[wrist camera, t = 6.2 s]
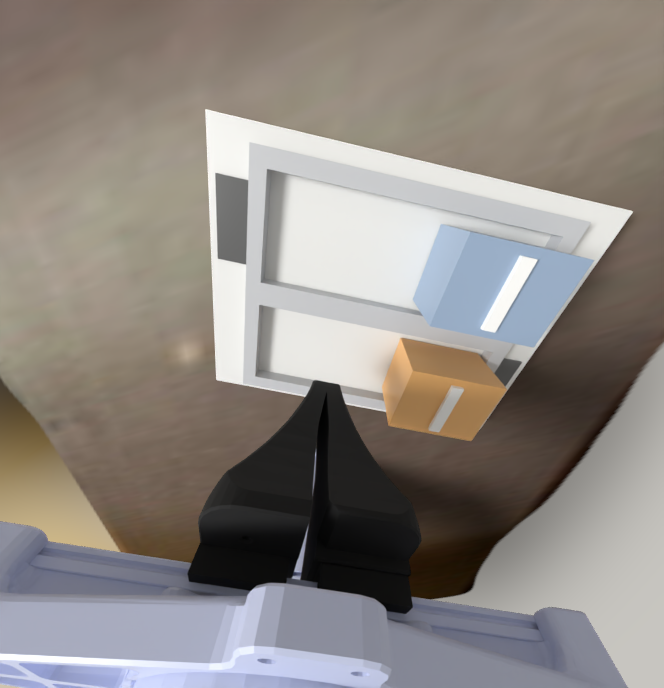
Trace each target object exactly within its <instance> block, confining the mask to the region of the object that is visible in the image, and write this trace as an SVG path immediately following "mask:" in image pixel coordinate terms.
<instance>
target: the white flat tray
mask: <svg viewBox="0 0 664 688" xmlns="http://www.w3.org/2000/svg"><path fill="white" fill-rule="evenodd" d="M205 110H206V135H207V160H208V185H209V210H210V235H211V260H212V285H213V310H214V334H215V359H216V380H219V381H225V382H230V383H235V384H241V385H246V386H251V387H257V388H262V389H267V390H273V391H278V392H283V393H289V394H294V395H299V396H305V397H306V395H307V393H308V391H309V389H310V387H311V385H312V382H313V381H314V380H319V381H324V382H329V383H335V384H339V385H340V387H341V391H342V395H343V398H344V401H345V404H347V405H353V406H358V407H363V408H369V409H374V410H379V411H385V412H386V408H385V402H384V397H383V391H382V385H383V383H384V380H385V377H386V375H387V372H388V369H389V367H390V364H391V361H392V359H393V356H394V354H395V351H396V348H397V346H398V343H399V340H400V338H404V339H409V340H414V341H419V342H424V343H429V344H434V345H439V346H444V347H449V348H454V349H459V350H463V351H468V352H473V353H478V355H479V356H480V357H481V358H482V359H483V361H484V362H485V363H486V364H487V365H488V367H489V368H490V369H491V370H492V371H493V373H494V374H495V375H496V376H497V377H498V379H499V380H500V381H501V382H502V383H503V385H504V386H505V387H506V388H507V390H508V389H509V387H510V386H511V385H512V383H513V382H514V380H515V379H516V377H517V376H518V375H519V373H520V372H521V370H522V369H523V367H524V366H525V365H526V363H527V362H528V360H529V359H530V358H531V356H532V355H533V353H534V352H535V350H536V349H537V348H538V346H539V345H540V343H541V342H542V340H543V339H544V338H545V336H546V335H547V333H548V332H549V331H550V329H551V328H552V326H553V325H554V323H555V322H556V321H557V319H558V318H559V316H560V315H561V314H562V312H563V311H564V309H565V308H566V306H567V305H568V304H569V302H570V301H571V299H572V298H573V296H574V295H575V294H576V292H577V291H578V289H579V288H580V287H581V285H582V284H583V282H584V281H585V279H586V278H587V277H588V275H589V274H590V272H591V271H592V269H593V268H594V267H595V265H596V264H597V262H598V261H599V260H600V258H601V257H602V255H603V254H604V252H605V251H606V250H607V248H608V247H609V245H610V244H611V242H612V241H613V240H614V238H615V237H616V235H617V234H618V233H619V231H620V230H621V228H622V227H623V225H624V224H625V223H626V221H627V220H628V218H629V217H630V215H631V214H632V213H633V211H630V210H625V209H621V208H617V207H613V206H609V205H604V204H600V203H596V202H592V201H588V200H583V199H579V198H575V197H571V196H567V195H563V194H558V193H554V192H550V191H546V190H542V189H537V188H533V187H529V186H525V185H521V184H516V183H512V182H508V181H504V180H500V179H496V178H491V177H487V176H483V175H479V174H475V173H470V172H466V171H462V170H458V169H454V168H449V167H445V166H441V165H437V164H433V163H429V162H424V161H420V160H416V159H412V158H408V157H403V156H399V155H395V154H391V153H387V152H382V151H378V150H374V149H370V148H366V147H362V146H357V145H353V144H349V143H345V142H341V141H336V140H332V139H328V138H324V137H320V136H315V135H311V134H307V133H303V132H299V131H295V130H290V129H286V128H282V127H278V126H274V125H269V124H265V123H261V122H257V121H253V120H248V119H244V118H240V117H236V116H232V115H227V114H223V113H219V112H215V111H211V110H207V109H205ZM441 224H443V225H448V226H452V227H457V228H461V229H465V230H470V231H474V232H479V233H483V234H487V235H492V236H496V237H501V238H505V239H509V240H514V241H518V242H523V243H527V244H531V245H536V246H540V247H544V248H548V249H552V250H556V251H560V252H564V253H568V254H572V255H576V256H580V257H584V258H588V259H592V260H594V262H593V263H592V265H591V266H590V268H589V269H588V270H587V272H586V273H585V275H584V276H583V278H582V279H581V281H580V282H579V283H578V285H577V286H576V288H575V289H574V291H573V292H572V293H571V295H570V296H569V298H568V299H567V301H566V302H565V304H564V305H563V306H562V308H561V309H560V311H559V312H558V314H557V315H556V316H555V318H554V319H553V321H552V322H551V324H550V325H549V327H548V328H547V329H546V331H545V332H544V334H543V335H542V337H541V338H540V339H539V341H538V342H537V344H536V345H535V347H534V348H533V347H528V346H523V345H518V344H513V343H508V342H504V341H499V340H494V339H489V338H484V337H479V336H474V335H470V334H465V333H460V332H455V331H450V330H445V329H441V328H436V327H431V326H429V325H428V323H427V321H426V320H425V318H424V317H423V315H422V314H421V312H420V310H419V309H418V307H417V306H416V304H415V303H414V301H413V297H414V295H415V292H416V289H417V287H418V284H419V281H420V279H421V276H422V273H423V271H424V268H425V265H426V263H427V260H428V257H429V255H430V252H431V249H432V247H433V244H434V241H435V239H436V236H437V233H438V231H439V228H440V225H441ZM506 392H507V391H506ZM506 392H505V393H506ZM503 396H504V395H503ZM503 396H502V397H503ZM501 399H502V398H501ZM501 399H500V400H501ZM499 402H500V401H499ZM499 402H498V403H499ZM496 406H497V405H496ZM496 406H495V407H496ZM494 409H495V408H494ZM494 409H493V410H494ZM492 412H493V411H492ZM492 412H491V413H492ZM489 416H490V415H489ZM489 416H488V417H489ZM487 419H488V418H487ZM487 419H486V420H487ZM484 423H485V422H484ZM482 426H483V425H482ZM482 426H481V427H482ZM480 429H481V428H480Z"/></svg>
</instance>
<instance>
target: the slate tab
mask: <svg viewBox="0 0 664 688" xmlns="http://www.w3.org/2000/svg"><path fill="white" fill-rule="evenodd" d="M593 262H594V260H592V259H588V258H584V257H580V256H576V255H572V254H568V253H564V252H560V251H556V250H552V249H548V248H544V247H540V246H536V245H531V244H527V243H523V242H518V241H514V240H509V239H505V238H501V237H496V236H492V235H487V234H483V233H479V232H474V231H470V230H465V229H461V228H457V227H452V226H448V225H443V224H441V225H440V228H439V231H438V233H437V236H436V239H435V241H434V244H433V247H432V249H431V252H430V255H429V257H428V260H427V263H426V265H425V268H424V271H423V273H422V276H421V279H420V281H419V284H418V287H417V289H416V292H415V295H414V297H413V301H414V303H415V304H416V306H417V307H418V309H419V310H420V312H421V314H422V315H423V317H424V318H425V320H426V321H427V323H428V325H429V326H431V327H436V328H441V329H445V330H450V331H455V332H460V333H465V334H470V335H474V336H479V337H484V338H489V339H494V340H499V341H504V342H508V343H513V344H518V345H523V346H528V347H533V348H534V347H535V345H536V344H537V342H538V341H539V339H540V338H541V337H542V335H543V334H544V332H545V331H546V329H547V328H548V327H549V325H550V324H551V322H552V321H553V319H554V318H555V316H556V315H557V314H558V312H559V311H560V309H561V308H562V306H563V305H564V304H565V302H566V301H567V299H568V298H569V296H570V295H571V293H572V292H573V291H574V289H575V288H576V286H577V285H578V283H579V282H580V281H581V279H582V278H583V276H584V275H585V273H586V272H587V270H588V269H589V268H590V266H591V265H592V263H593Z"/></svg>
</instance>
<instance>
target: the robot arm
mask: <svg viewBox="0 0 664 688" xmlns="http://www.w3.org/2000/svg"><path fill="white" fill-rule="evenodd" d="M316 443H317V447H316ZM198 525H199V533H200V542H201V543H200V545H199V547H198V549H197V552H196V554H195V556H194V559H193V561H192V563H187V562H181V561H174V560H167V559H161V558H154V557H148V556H141V555H135V554H128V553H122V552H115V551H109V550H102V549H95V548H89V547H83V546H76V545H70V544H63V543H56V542H50V541H48V538H47V536H46V534H45V533H44V532H43V531H42V530H40V529H38V528H36V527H32V526H28V525H21V524H15V523H8V522H2V521H0V684H3V685H9V686H15V687H21V688H628V687H627V685H626V684H625V682H624V680H623V678H622V677H621V675H620V673H619V671H618V670H617V668H616V667H615V664H614V663H613V661H612V659H611V658H610V656H609V654H608V652H607V651H606V649H605V648H604V645H603V644H602V642H601V640H600V639H599V637H598V635H597V633H596V632H595V630H594V628H593V626H592V625H591V623H590V621H589V619H588V618H587V616H586V614H585V613H583V612H581V611H574V610H568V609H562V608H554V607H548V608H543V609H541V610H539V611H537V612H536V613H535V614H534V616H533V615H527V614H520V613H514V612H507V611H500V610H494V609H487V608H481V607H474V606H468V605H461V604H455V603H448V602H442V601H435V600H429V599H422V598H416V597H411V591H410V585H409V579H408V576H410V574H411V570H410V564H409V558H410V557H411V556H412V554H413V553H414V552H415V551H416V549H417V548H418V546H419V545H420V542H421V534H420V529H419V525H418V521H417V518H416V515H415V512H414V509H413V506H412V504H411V502H410V501H409V500H408V499H407V498H406V497H405V496H404V495H403V494H402V493H401V492H400V491H399V490H398V489H397V487H396V486H395V485H394V484H393V483H392V482H391V481H390V479H389V478H388V477H387V476H386V475H385V473H384V472H383V471H382V469H381V468H380V467H379V465H378V464H377V462H376V461H375V460H374V458H373V457H372V455H371V454H370V452H369V451H368V449H367V448H366V446H365V444H364V443H363V441H362V439H361V437H360V435H359V434H358V432H357V430H356V428H355V426H354V423H353V421H352V419H351V417H350V414H349V412H348V409H347V407H346V404H345V401H344V398H343V395H342V391H341V387H340V385H339V384H335V383H329V382H324V381H319V380H314V381H313V382H312V385H311V387H310V389H309V391H308V393H307V395H306V397H305V398H304V400H303V401H302V403H301V404H300V406H299V407H298V408H297V410H296V411H295V412H294V413H293V415H292V416H291V417H290V418H289V420H288V421H287V422H286V423H285V424H284V425H283V426H282V427H281V428H280V429H279V430H278V431H277V432H276V433H275V434H274V435H273V436H272V437H271V438H270V439H269V440H268V441H267V442H266V443H264V444H263V445H262V446H261V447H260V448H258V449H257V450H256V451H255V452H253V453H252V454H251V455H250V456H248V457H247V458H246V459H244V460H243V461H241V462H240V463H238V464H237V465H235V466H234V467H232V468H231V469H230V470H228V471H227V472H226V473H225V474H224V475H223V477H222V478H221V479H220V481H219V482H218V483H217V485H216V486H215V488H214V489H213V491H212V492H211V494H210V496H209V497H208V499H207V501H206V503H205V505H204V508H203V510H202V512H201V514H200V516H199V521H198Z"/></svg>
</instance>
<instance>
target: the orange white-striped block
mask: <svg viewBox="0 0 664 688" xmlns="http://www.w3.org/2000/svg"><path fill="white" fill-rule="evenodd" d="M382 391H383V397H384V402H385V408H386V413H387V419H388V425H389V426H392V427H398V428H403V429H409V430H414V431H419V432H425V433H430V434H436V435H441V436H446V437H452V438H457V439H463V440H468V441H472V439H473V438H474V436H475V435H476V433H477V432H478V431H479V429H480V428H481V426H482V425H483V424H484V422H485V421H486V419H487V418H488V416H489V415H490V414H491V412H492V411H493V409H494V408H495V406H496V405H497V404H498V402H499V401H500V399H501V398H502V396H503V395H504V394H505V392H506V391H507V388H506V387H505V386H504V385H503V383H502V382H501V381H500V380H499V379H498V377H497V376H496V375H495V374H494V373H493V371H492V370H491V369H490V368H489V367H488V365H487V364H486V363H485V362H484V361H483V359H482V358H481V357H480V356H479V355H478V353H473V352H468V351H463V350H459V349H454V348H449V347H444V346H439V345H434V344H429V343H424V342H419V341H414V340H409V339H404V338H400V340H399V343H398V346H397V348H396V351H395V354H394V356H393V359H392V361H391V364H390V367H389V369H388V372H387V375H386V377H385V380H384V383H383V385H382Z"/></svg>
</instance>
